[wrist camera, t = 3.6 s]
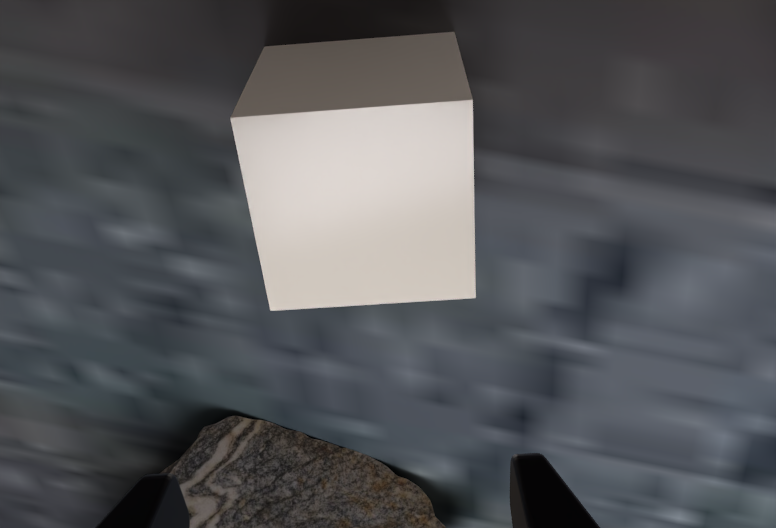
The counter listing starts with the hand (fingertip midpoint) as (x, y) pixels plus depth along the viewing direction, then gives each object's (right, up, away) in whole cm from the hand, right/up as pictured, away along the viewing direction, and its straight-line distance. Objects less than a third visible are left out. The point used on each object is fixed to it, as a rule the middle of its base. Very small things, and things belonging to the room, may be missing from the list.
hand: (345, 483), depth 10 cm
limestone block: (0, +7, +11) cm, 13 cm away
